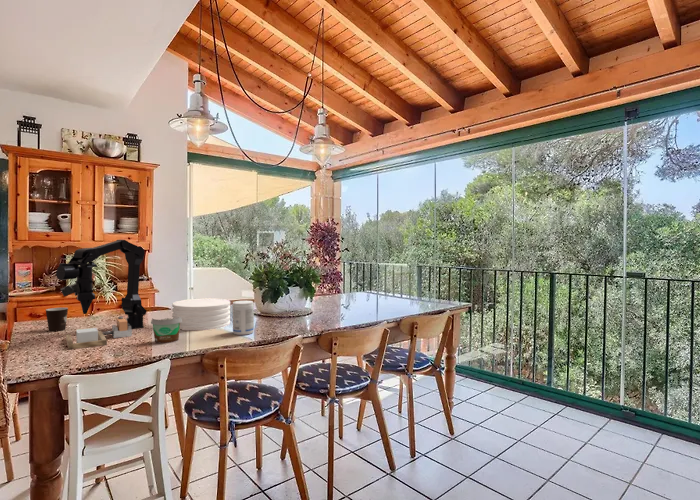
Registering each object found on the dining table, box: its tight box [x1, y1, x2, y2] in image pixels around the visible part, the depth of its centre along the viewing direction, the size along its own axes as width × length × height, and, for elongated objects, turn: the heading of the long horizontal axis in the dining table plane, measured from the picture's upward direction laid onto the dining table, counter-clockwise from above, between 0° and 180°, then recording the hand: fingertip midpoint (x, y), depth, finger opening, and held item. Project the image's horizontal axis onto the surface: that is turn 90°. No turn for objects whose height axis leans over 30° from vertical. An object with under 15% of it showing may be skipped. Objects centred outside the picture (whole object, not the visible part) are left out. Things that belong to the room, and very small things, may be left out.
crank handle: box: [116, 315, 127, 331], centre depth 187 cm, size 3×9×5 cm, turn 37°
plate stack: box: [171, 297, 231, 331], centre depth 213 cm, size 28×28×12 cm
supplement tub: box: [232, 300, 255, 336], centre depth 195 cm, size 10×10×15 cm
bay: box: [65, 330, 108, 350], centre depth 175 cm, size 13×20×2 cm, turn 37°
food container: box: [150, 317, 182, 344], centre depth 177 cm, size 12×6×10 cm, turn 117°
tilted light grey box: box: [75, 327, 99, 343], centre depth 170 cm, size 7×7×6 cm
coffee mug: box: [45, 307, 69, 333], centre depth 197 cm, size 12×9×10 cm
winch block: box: [102, 323, 133, 339], centre depth 186 cm, size 11×7×4 cm, turn 127°
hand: (84, 313), depth 180 cm, fingers closed
